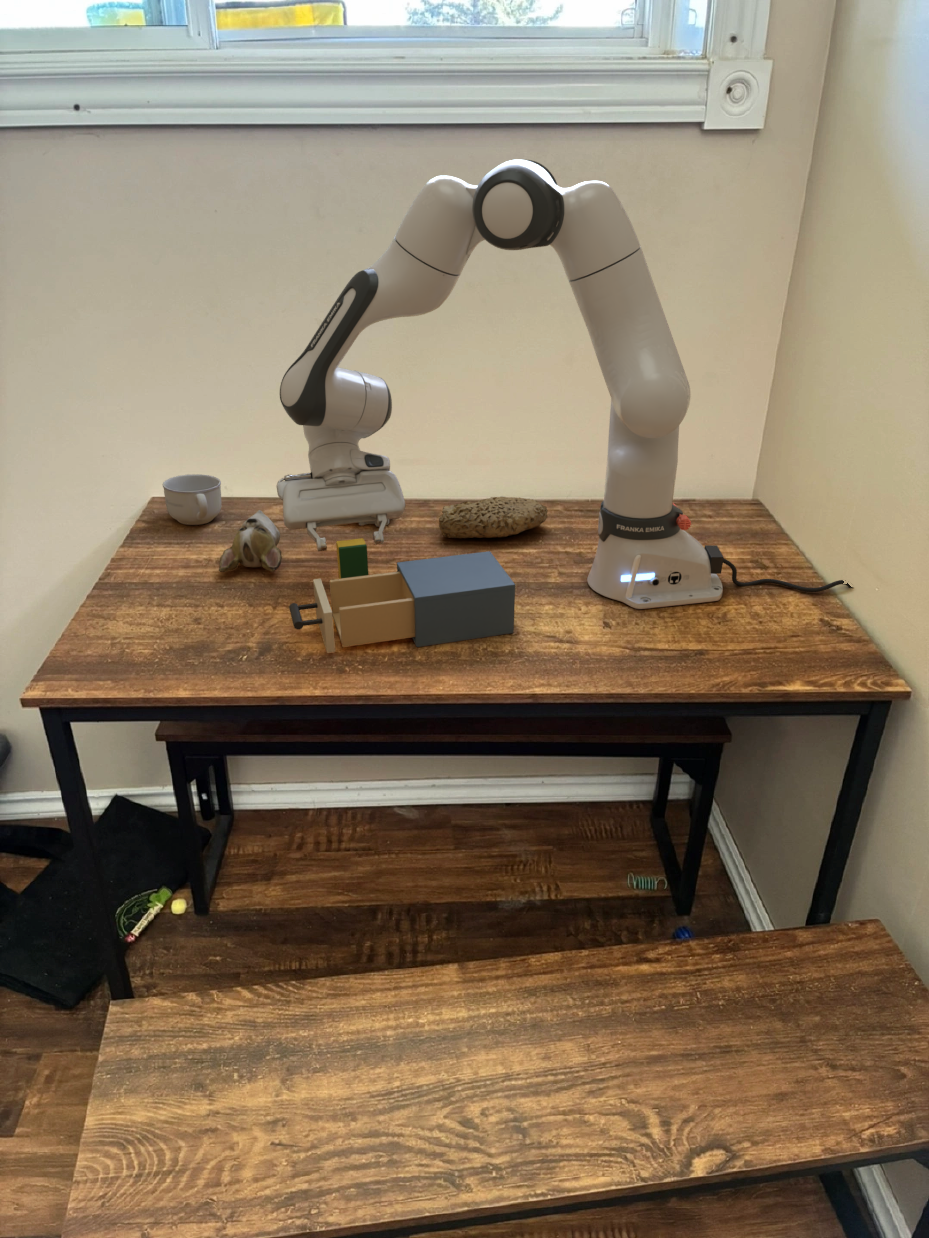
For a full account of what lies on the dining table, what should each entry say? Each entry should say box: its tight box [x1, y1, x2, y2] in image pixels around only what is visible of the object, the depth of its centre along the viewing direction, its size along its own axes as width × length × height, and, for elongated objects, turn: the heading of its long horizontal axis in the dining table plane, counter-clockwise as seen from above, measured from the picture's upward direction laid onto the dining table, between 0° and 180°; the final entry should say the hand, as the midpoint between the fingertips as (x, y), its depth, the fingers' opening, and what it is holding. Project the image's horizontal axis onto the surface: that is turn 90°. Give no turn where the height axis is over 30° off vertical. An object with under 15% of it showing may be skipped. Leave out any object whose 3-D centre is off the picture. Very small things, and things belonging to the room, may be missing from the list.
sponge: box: [438, 496, 549, 539], centre depth 167 cm, size 13×8×20 cm
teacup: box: [162, 473, 222, 526], centre depth 171 cm, size 14×11×8 cm
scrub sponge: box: [335, 537, 369, 579], centre depth 145 cm, size 4×3×9 cm
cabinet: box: [396, 550, 516, 648], centre depth 137 cm, size 15×12×8 cm
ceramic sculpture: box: [218, 509, 282, 573], centre depth 155 cm, size 11×9×15 cm
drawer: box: [288, 571, 415, 654], centre depth 133 cm, size 19×11×7 cm, turn 106°
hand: (351, 546), depth 145 cm, fingers open, 8 cm apart
